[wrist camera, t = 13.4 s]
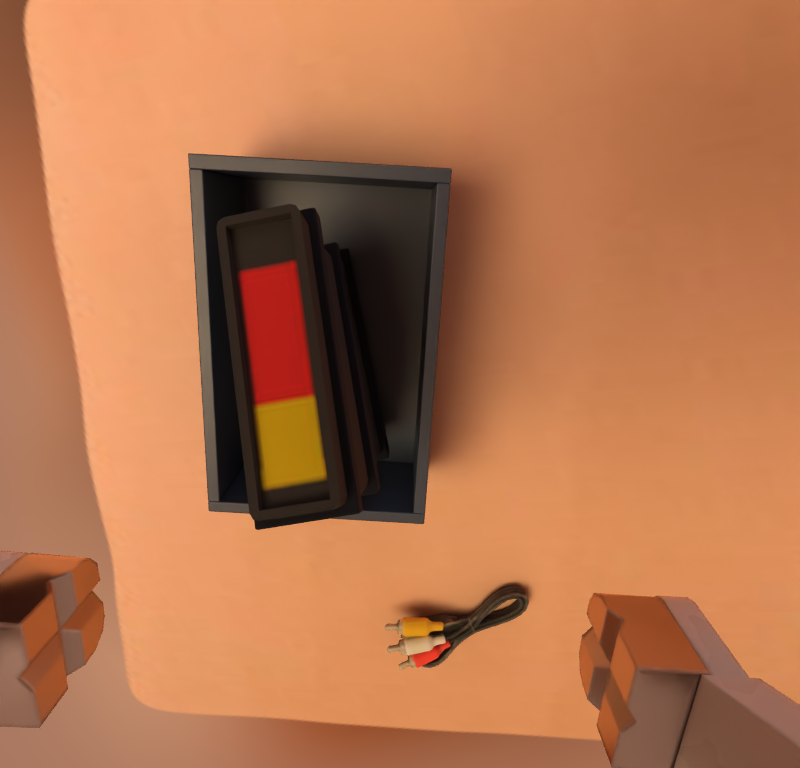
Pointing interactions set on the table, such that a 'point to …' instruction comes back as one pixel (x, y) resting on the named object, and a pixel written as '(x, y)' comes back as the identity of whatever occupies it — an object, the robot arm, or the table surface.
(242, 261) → the magazine
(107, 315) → the table surface
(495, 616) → the composite cable
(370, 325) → the box
